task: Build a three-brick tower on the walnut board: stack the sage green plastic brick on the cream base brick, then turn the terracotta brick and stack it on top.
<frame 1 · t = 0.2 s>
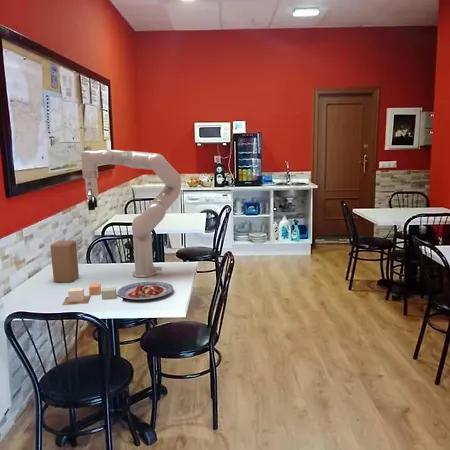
hand: (93, 208, 244), 37 cm above the table, tool pointing down, fingers open, 9 cm apart
ceramic plate: (145, 294, 223), on the table
cream base brick: (76, 300, 212), point 1 cm above the table, touching walnut board
wooden block: (66, 280, 249), on the table
sage green brick: (109, 299, 216), on the table
terracotta brick: (95, 295, 222), on the table
walnut board: (77, 302, 213), on the table
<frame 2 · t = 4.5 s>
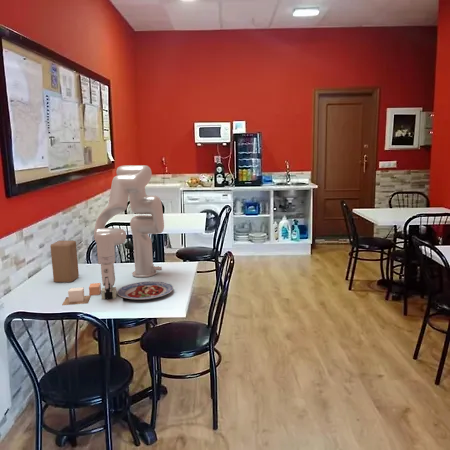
hand: (109, 298, 215), 1 cm above the table, tool pointing down, fingers closed on sage green brick, 4 cm apart
sage green brick: (109, 299, 216), on the table, touching gripper
everything else where it was.
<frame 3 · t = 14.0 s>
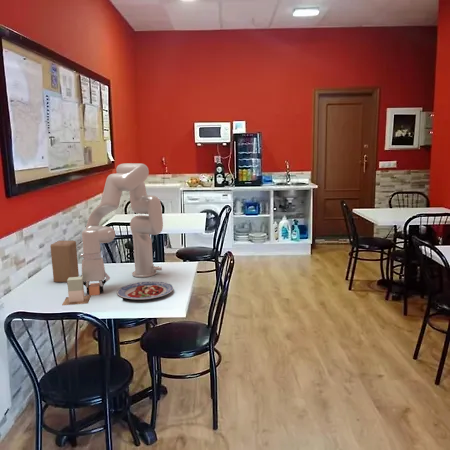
hand: (95, 293, 222), 1 cm above the table, tool pointing down, fingers closed on terracotta brick, 4 cm apart
cream base brick: (76, 300, 212), point 1 cm above the table, touching sage green brick, walnut board
sage green brick: (76, 289, 212), point 6 cm above the table, touching cream base brick
terracotta brick: (95, 295, 222), on the table, touching gripper
everything else where it was.
when the fingers open (13 cm above the table, at t = 17.6 s): terracotta brick drops 1 cm, resting on sage green brick.
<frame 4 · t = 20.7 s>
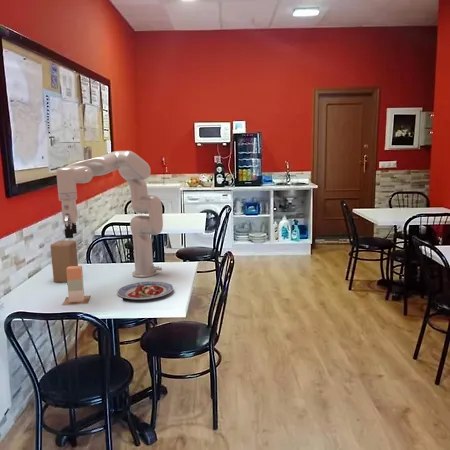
hand: (71, 235, 207), 30 cm above the table, tool pointing down, fingers open, 9 cm apart
sage green brick: (76, 289, 212), point 6 cm above the table, touching cream base brick, terracotta brick
terracotta brick: (75, 278, 211), point 11 cm above the table, touching sage green brick
everything else where it was.
at the end: sage green brick 0.1 cm off-centre on the cream base brick, point 5.0 cm above the cream base brick's base; terracotta brick 0.1 cm off-centre on the cream base brick, point 10.0 cm above the cream base brick's base; terracotta brick tilted 0° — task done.
